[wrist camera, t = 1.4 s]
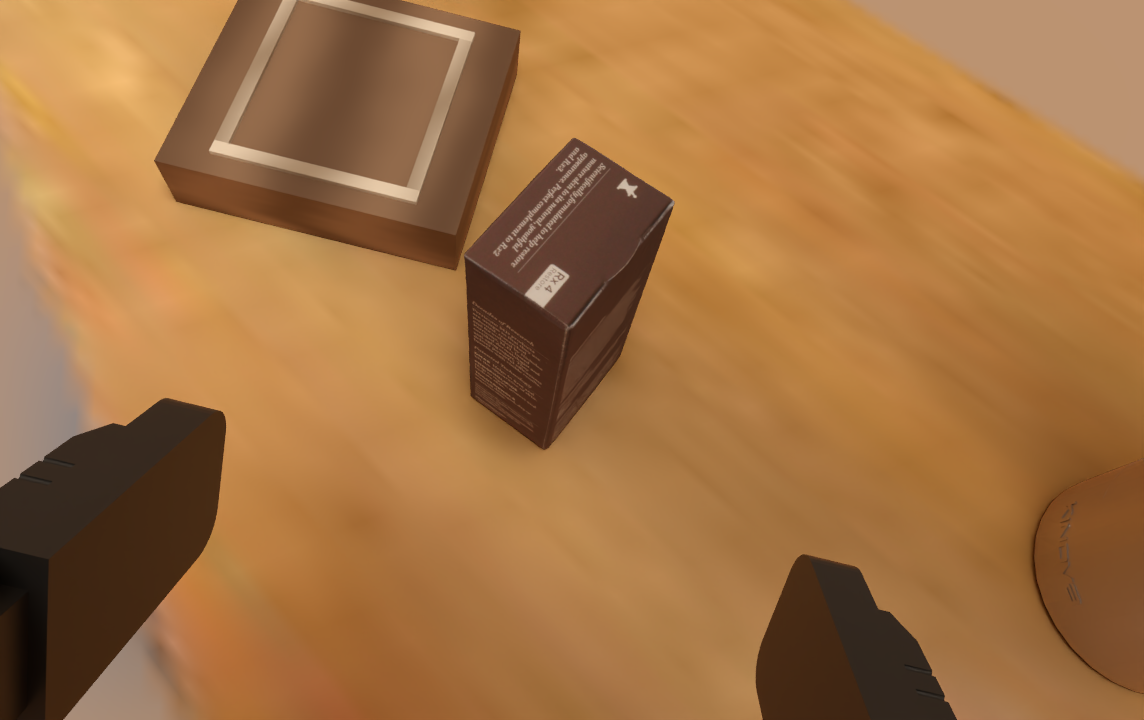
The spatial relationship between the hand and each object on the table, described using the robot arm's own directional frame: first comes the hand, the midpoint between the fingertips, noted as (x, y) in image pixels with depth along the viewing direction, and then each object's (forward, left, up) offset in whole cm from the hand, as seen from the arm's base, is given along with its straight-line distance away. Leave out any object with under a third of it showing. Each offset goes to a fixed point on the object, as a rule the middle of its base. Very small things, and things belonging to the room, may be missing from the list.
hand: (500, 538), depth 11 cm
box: (0, -12, -22) cm, 25 cm away
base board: (+11, -22, -22) cm, 33 cm away
